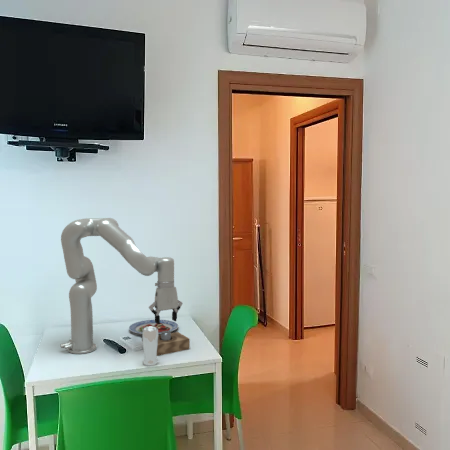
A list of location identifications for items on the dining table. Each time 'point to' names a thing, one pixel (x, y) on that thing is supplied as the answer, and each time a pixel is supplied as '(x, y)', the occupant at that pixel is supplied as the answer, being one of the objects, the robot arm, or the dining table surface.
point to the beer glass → (150, 345)
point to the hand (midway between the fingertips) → (166, 321)
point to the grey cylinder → (165, 335)
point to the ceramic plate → (163, 326)
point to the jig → (173, 344)
